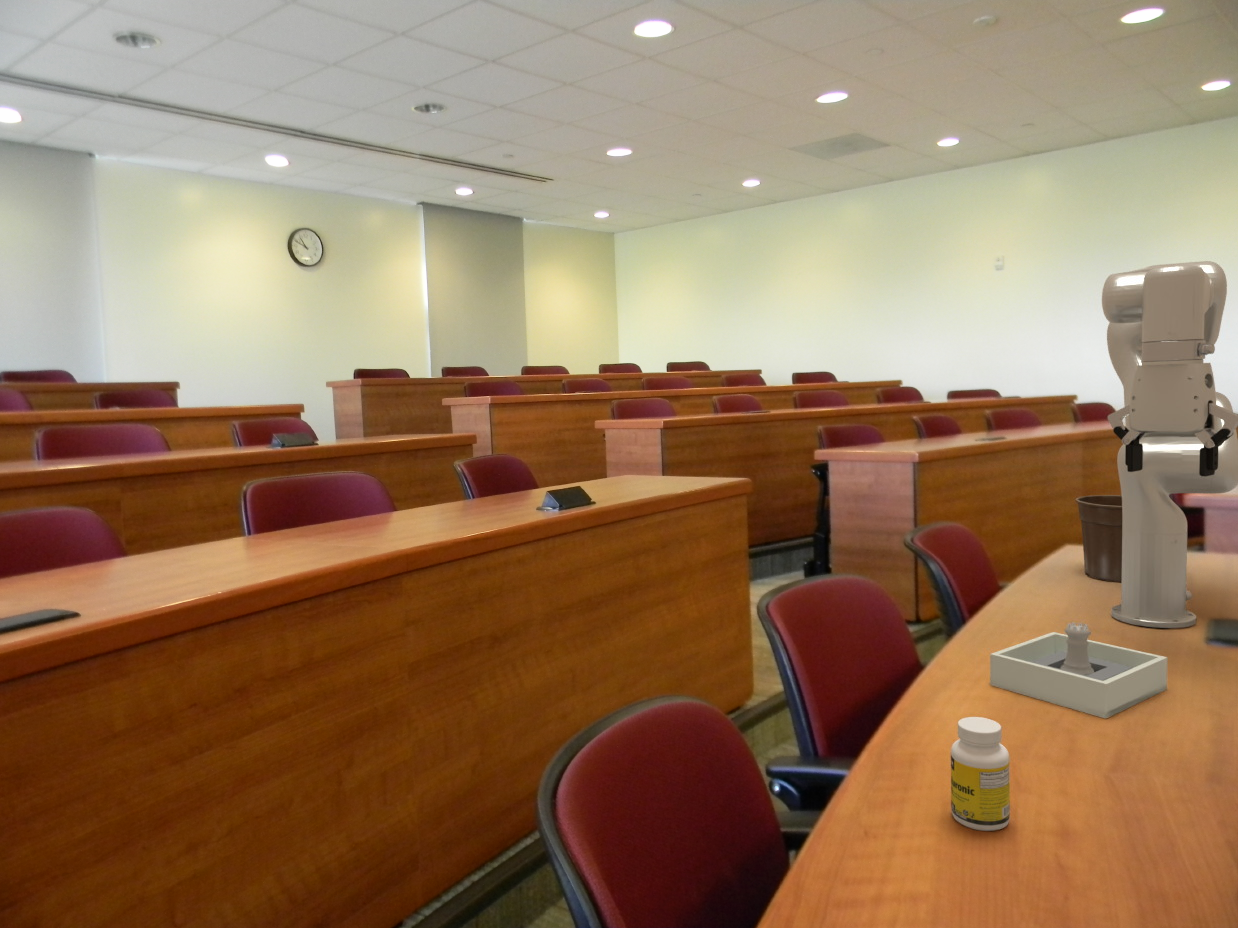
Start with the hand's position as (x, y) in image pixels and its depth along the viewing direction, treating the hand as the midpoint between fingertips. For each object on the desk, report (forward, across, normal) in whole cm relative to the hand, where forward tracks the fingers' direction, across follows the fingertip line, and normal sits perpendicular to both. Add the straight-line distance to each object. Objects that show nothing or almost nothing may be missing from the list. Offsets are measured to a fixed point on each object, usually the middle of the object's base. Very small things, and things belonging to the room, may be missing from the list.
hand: (1169, 473), depth 126 cm
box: (+28, +3, +19) cm, 34 cm away
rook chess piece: (+28, +3, +19) cm, 34 cm away
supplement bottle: (+28, -10, +61) cm, 68 cm away
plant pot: (+28, +31, -49) cm, 65 cm away
